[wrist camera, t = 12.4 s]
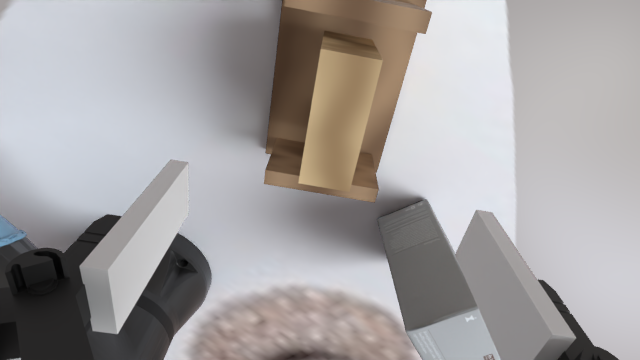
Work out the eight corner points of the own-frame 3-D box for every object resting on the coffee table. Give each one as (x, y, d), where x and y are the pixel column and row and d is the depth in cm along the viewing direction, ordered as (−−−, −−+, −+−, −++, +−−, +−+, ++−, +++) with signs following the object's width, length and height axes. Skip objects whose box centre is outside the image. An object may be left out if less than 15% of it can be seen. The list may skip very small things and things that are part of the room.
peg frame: (267, 149, 39) (252, 187, 32) (287, -31, 31) (272, -30, 24) (375, 168, 40) (383, 209, 33) (424, -3, 31) (449, 5, 25)
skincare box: (375, 216, 43) (393, 331, 30) (433, 193, 41) (481, 305, 28) (401, 264, 47) (428, 387, 33) (456, 246, 45) (508, 367, 31)
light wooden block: (305, 140, 35) (298, 183, 28) (324, 30, 30) (320, 48, 23) (347, 147, 35) (349, 191, 28) (372, 39, 30) (382, 60, 23)
